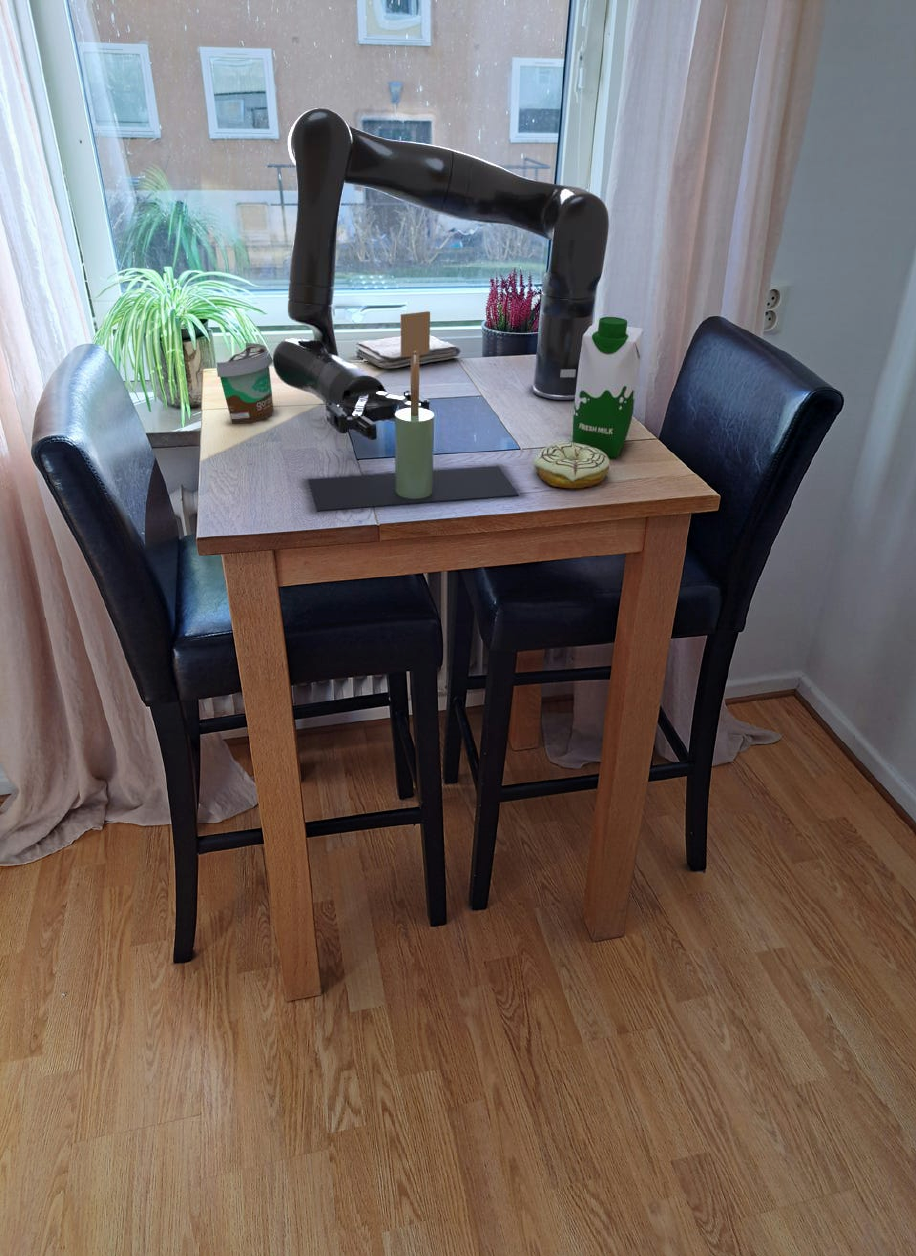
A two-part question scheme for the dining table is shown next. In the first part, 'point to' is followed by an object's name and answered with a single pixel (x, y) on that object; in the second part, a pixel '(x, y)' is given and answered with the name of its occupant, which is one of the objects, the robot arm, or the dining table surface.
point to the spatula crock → (414, 417)
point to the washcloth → (389, 352)
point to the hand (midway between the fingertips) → (402, 427)
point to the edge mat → (383, 493)
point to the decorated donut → (571, 465)
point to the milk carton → (607, 384)
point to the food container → (247, 384)
